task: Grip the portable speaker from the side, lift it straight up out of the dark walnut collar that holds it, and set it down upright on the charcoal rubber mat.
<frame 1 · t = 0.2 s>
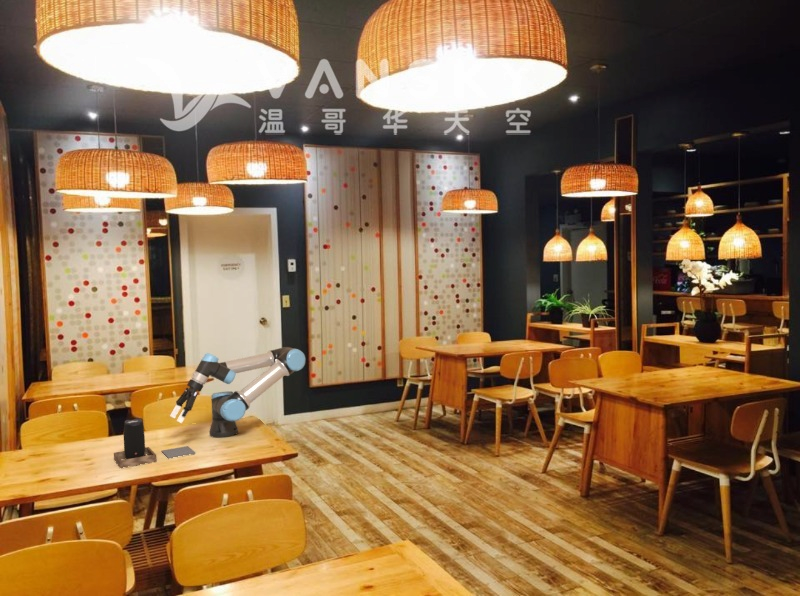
hand: (175, 419, 323), 15 cm above the table, tool tilted 35°, fingers open, 13 cm apart
walnut collar: (135, 460, 305), on the table
rubber mat: (178, 453, 316), on the table
portable speaker: (135, 461, 305), on the table
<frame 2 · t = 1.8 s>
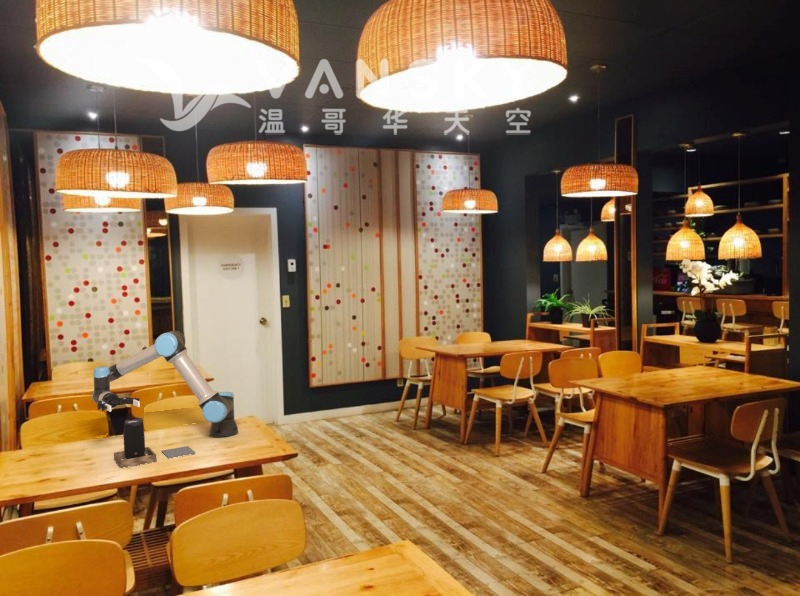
hand: (124, 406, 312), 25 cm above the table, tool horizontal, fingers open, 13 cm apart
nothing on the table moved.
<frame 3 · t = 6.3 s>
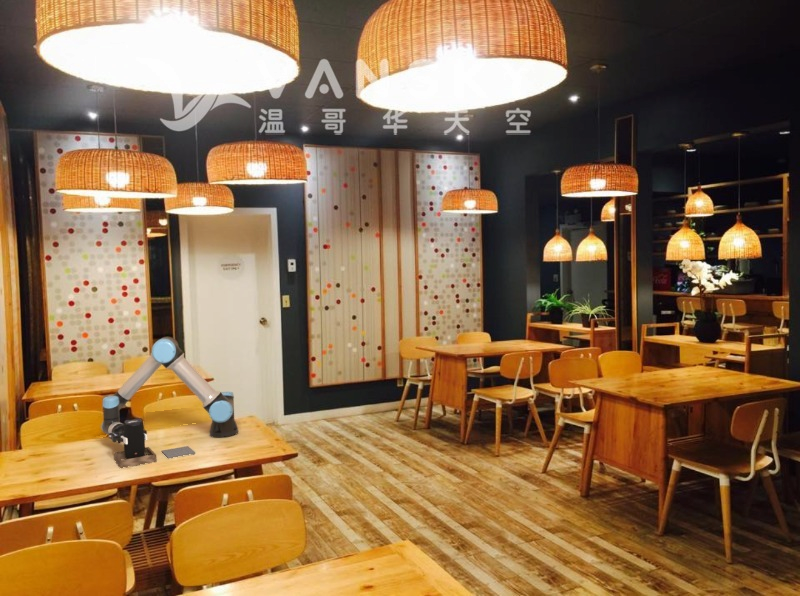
hand: (136, 439, 302), 11 cm above the table, tool horizontal, fingers closed on portable speaker, 8 cm apart
portable speaker: (135, 461, 305), on the table, touching gripper
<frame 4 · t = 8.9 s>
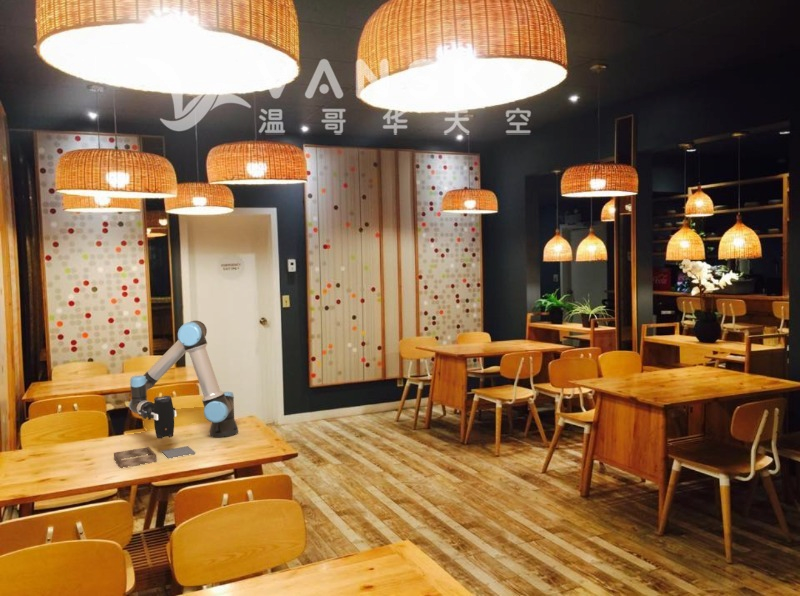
hand: (166, 415, 310), 20 cm above the table, tool horizontal, fingers closed on portable speaker, 8 cm apart
portable speaker: (165, 437, 313), point 9 cm above the table, touching gripper
when the fingers open (12 cm above the table, at t = 11.6 s): portable speaker stays where it is, resting on rubber mat.
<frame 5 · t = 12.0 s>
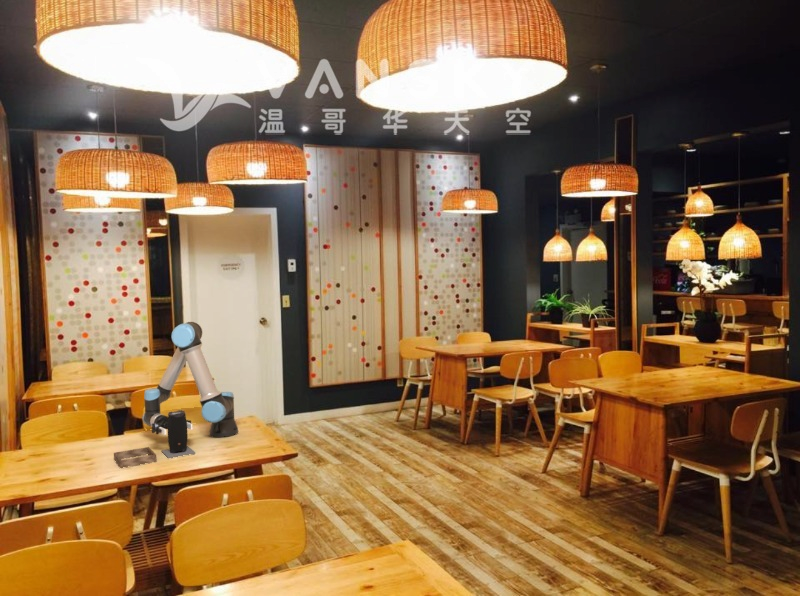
hand: (178, 429, 314), 12 cm above the table, tool horizontal, fingers open, 13 cm apart
portable speaker: (178, 451, 316), point 1 cm above the table, touching rubber mat
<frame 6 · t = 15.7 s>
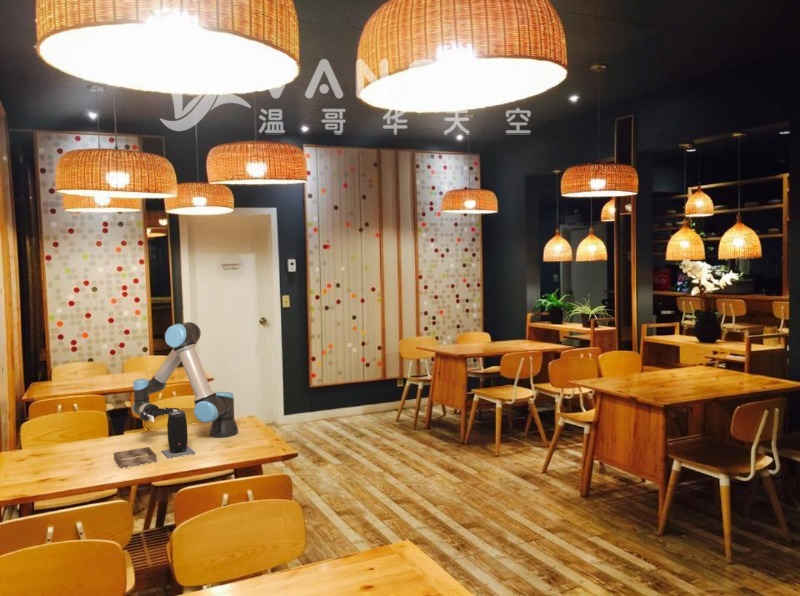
hand: (166, 416, 323), 17 cm above the table, tool horizontal, fingers open, 13 cm apart
nothing on the table moved.
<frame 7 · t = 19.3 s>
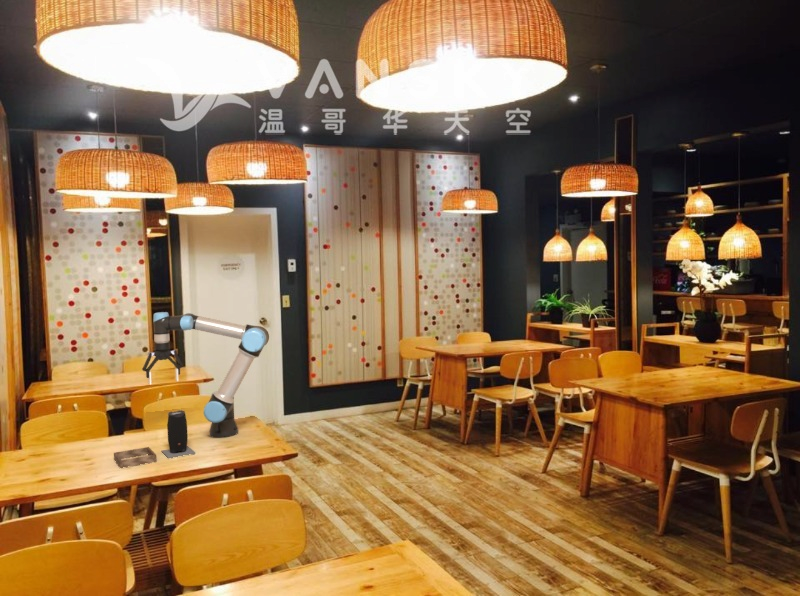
hand: (163, 382, 334), 32 cm above the table, tool pointing down, fingers open, 13 cm apart
nothing on the table moved.
at the end: portable speaker inside the target area on the rubber mat (0.1 cm from its centre), point 0.8 cm above the rubber mat's base; portable speaker tilted 0°; the gripper is holding nothing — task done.
